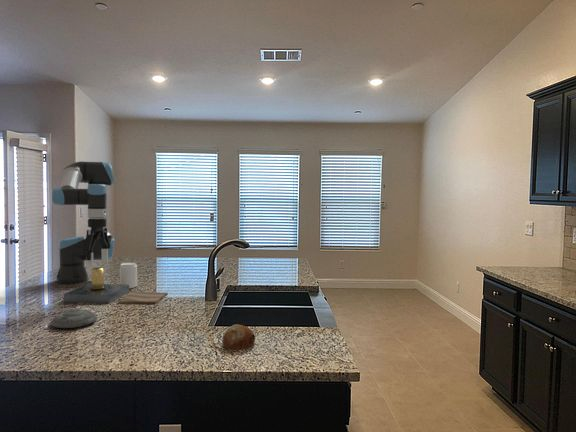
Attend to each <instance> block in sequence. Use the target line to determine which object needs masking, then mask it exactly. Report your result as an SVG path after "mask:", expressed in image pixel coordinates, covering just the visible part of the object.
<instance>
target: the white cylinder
mask: <svg viewBox="0 0 576 432" xmlns="http://www.w3.org/2000/svg"><path fill="white" fill-rule="evenodd" d="M119 285H129V290H130V289H134V288H136V287H138V265H137V263H136V262H122V263H121V264H120V265H119Z"/></svg>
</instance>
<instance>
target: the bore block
mask: <svg viewBox="0 0 576 432" xmlns="http://www.w3.org/2000/svg"><path fill="white" fill-rule="evenodd" d="M129 292H130V289H129V285H120V283H119V284H118V283H117V284H108V283H107V284H106V283H104V290H100V291H92V283H87V284H84V285H82V286H79V287H77V288H75V289H72V290H70V291H68V292H65V293H64V294H62V295H63V297H62V299H63V303H75V304H76V303H77V304H79V303H80V304H81V303H82V304H83V303H84V304H110V303H112V302H114V301H116V300H118V299H119V298H121V297H122V296H124V295H126V294H127V293H129Z"/></svg>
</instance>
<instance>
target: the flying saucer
mask: <svg viewBox="0 0 576 432" xmlns="http://www.w3.org/2000/svg"><path fill="white" fill-rule="evenodd" d="M97 319H98V316H97V315H96V314H95V313H94V312H92V311H90V310H88V309H87V310H86V309H81V308H74V309H73V308H72V309H68V310H66V311H63V312H61V313H59V314H58V315H56V316H54V317H53V318H52V320H51V321H50V326H52V327H54V328H58V329H72V328H73V329H74V328H80V327H84V326H87V325H90V324H92V323H94V322H96V321H97Z"/></svg>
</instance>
